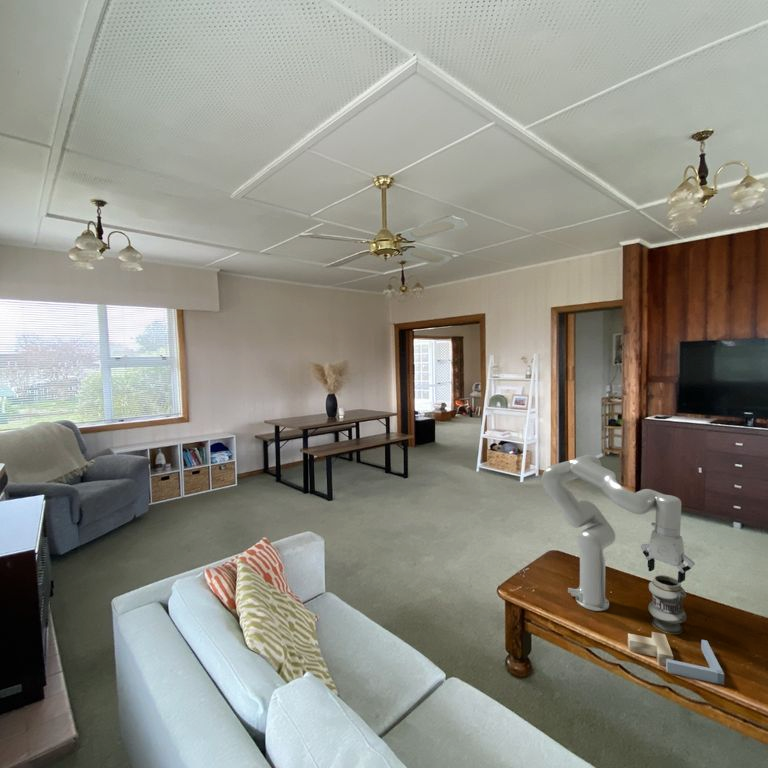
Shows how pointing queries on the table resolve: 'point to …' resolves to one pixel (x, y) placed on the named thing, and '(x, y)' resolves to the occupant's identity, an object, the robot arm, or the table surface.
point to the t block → (651, 646)
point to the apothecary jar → (667, 604)
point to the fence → (699, 667)
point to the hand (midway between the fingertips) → (665, 575)
